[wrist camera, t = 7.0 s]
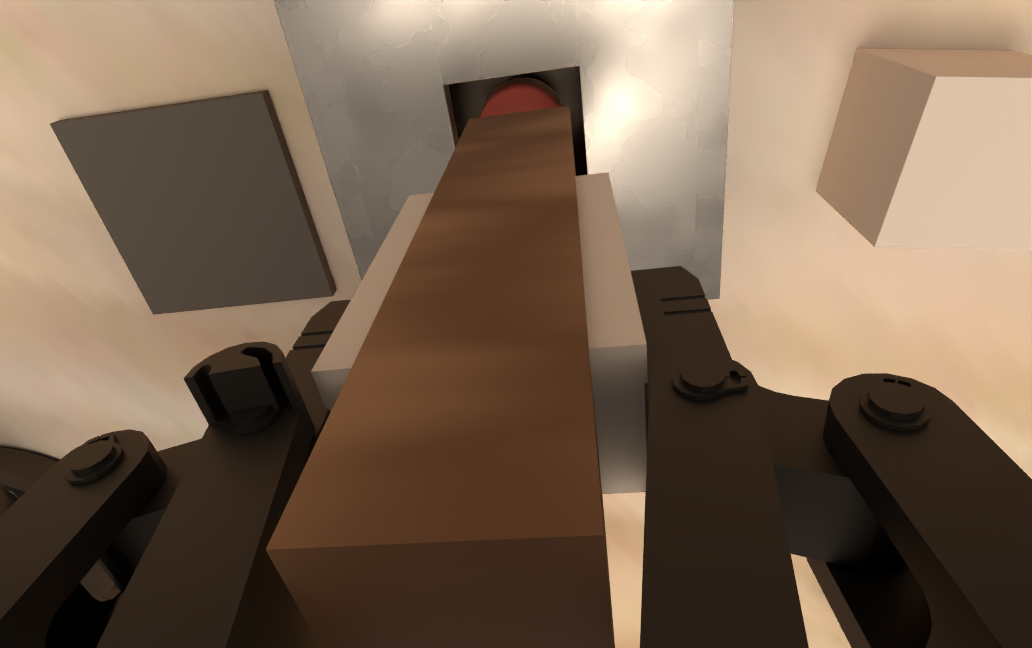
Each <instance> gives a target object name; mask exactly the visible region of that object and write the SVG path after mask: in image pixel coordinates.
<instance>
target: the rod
mask: <svg viewBox="0 0 1032 648" xmlns="http://www.w3.org/2000/svg"><path fill="white" fill-rule="evenodd" d="M575 176H576V172H575V161H574V150H573V139H572V127H571V116H570V106H562V107H555V108H547V109H540V110H532V111H524V112H517V113H509V114H501V115H494V116H486V117H479V118H471V119H469V120H468V122H467V124H466V127H465V129H464V131H463V133H462V135H461V137H460V139H459V141H458V143H457V146H456V148H455V150H454V152H453V154H452V156H451V158H450V160H449V163H448V165H447V167H446V169H445V171H444V173H443V175H442V177H441V179H440V182H439V184H438V186H437V188H436V190H435V192H434V194H433V196H432V198H431V201H430V203H429V205H428V207H427V209H426V211H425V213H424V215H423V218H422V220H421V222H420V224H419V226H418V228H417V230H416V232H415V234H414V237H413V239H412V241H411V243H410V245H409V247H408V249H407V251H406V254H405V256H404V258H403V260H402V262H401V264H400V266H399V268H398V270H397V273H396V275H395V277H394V279H393V281H392V283H391V285H390V287H389V290H388V292H387V294H386V296H385V298H384V300H383V302H382V304H381V306H380V309H379V311H378V313H377V315H376V317H375V319H374V321H373V323H372V325H371V328H370V330H369V332H368V334H367V336H366V338H365V340H364V342H363V345H362V347H361V349H360V351H359V353H358V355H357V357H356V359H355V361H354V364H353V366H352V368H351V370H350V372H349V374H348V376H347V378H346V381H345V383H344V385H343V387H342V389H341V391H340V393H339V395H338V397H337V400H336V402H335V404H334V406H333V408H332V410H331V412H330V414H329V416H328V419H327V421H326V423H325V425H324V427H323V429H322V431H321V433H320V436H319V438H318V440H317V442H316V444H315V446H314V448H313V450H312V452H311V455H310V457H309V459H308V461H307V463H306V465H305V467H304V469H303V472H302V474H301V476H300V478H299V480H298V482H297V484H296V486H295V488H294V491H293V493H292V495H291V497H290V499H289V501H288V503H287V505H286V507H285V510H284V512H283V514H282V516H281V518H280V520H279V522H278V524H277V527H276V529H275V531H274V533H273V535H272V537H271V539H270V541H269V543H268V546H267V548H266V551H267V553H268V555H269V557H270V558H271V560H272V562H273V564H274V565H275V567H276V569H277V571H278V572H279V574H280V576H281V578H282V579H283V581H284V583H285V585H286V586H287V588H288V590H289V592H290V594H291V595H292V597H293V599H294V601H295V602H296V604H297V606H298V608H299V609H300V611H301V613H302V615H303V616H304V618H305V620H306V622H307V623H308V625H309V627H310V629H311V630H312V632H313V634H314V636H315V637H316V639H317V641H318V643H319V644H320V646H321V648H615V642H614V630H613V618H612V606H611V594H610V582H609V570H608V558H607V545H606V533H605V521H604V509H603V497H602V486H601V475H600V464H599V453H598V442H597V432H596V421H595V410H594V399H593V388H592V377H591V366H590V355H589V343H588V331H587V318H586V306H585V293H584V280H583V268H582V255H581V243H580V230H579V217H578V205H577V192H576V180H575Z"/></svg>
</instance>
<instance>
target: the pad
mask: <svg viewBox="0 0 1032 648" xmlns="http://www.w3.org/2000/svg"><path fill="white" fill-rule="evenodd" d="M50 125H51V127H52V129H53V131H54V133H55V134H56V136H57V138H58V140H59V142H60V144H61V146H62V147H63V149H64V151H65V153H66V155H67V157H68V158H69V160H70V162H71V164H72V166H73V168H74V169H75V171H76V173H77V175H78V177H79V179H80V180H81V182H82V184H83V186H84V188H85V190H86V191H87V193H88V195H89V197H90V199H91V201H92V202H93V204H94V206H95V208H96V210H97V212H98V214H99V215H100V217H101V219H102V221H103V223H104V225H105V226H106V228H107V230H108V232H109V234H110V236H111V237H112V239H113V241H114V243H115V245H116V247H117V248H118V250H119V252H120V254H121V256H122V258H123V259H124V261H125V263H126V265H127V267H128V269H129V271H130V272H131V274H132V276H133V278H134V280H135V282H136V283H137V285H138V287H139V289H140V291H141V293H142V294H143V296H144V298H145V300H146V302H147V304H148V305H149V307H150V309H151V311H152V313H153V314H163V313H173V312H182V311H192V310H202V309H212V308H221V307H231V306H241V305H251V304H261V303H270V302H280V301H290V300H300V299H310V298H319V297H329V296H333V295H334V293H335V292H336V288H335V285H334V282H333V279H332V276H331V273H330V270H329V267H328V265H327V262H326V259H325V256H324V253H323V250H322V247H321V244H320V241H319V238H318V235H317V233H316V230H315V227H314V224H313V221H312V218H311V215H310V212H309V209H308V206H307V203H306V201H305V198H304V195H303V192H302V189H301V186H300V183H299V180H298V177H297V174H296V171H295V169H294V166H293V163H292V160H291V157H290V154H289V151H288V148H287V145H286V142H285V139H284V137H283V134H282V131H281V128H280V125H279V122H278V119H277V116H276V113H275V110H274V107H273V105H272V102H271V99H270V96H269V93H268V90H266V91H260V92H253V93H246V94H239V95H232V96H225V97H218V98H211V99H204V100H197V101H190V102H184V103H177V104H170V105H163V106H156V107H149V108H142V109H135V110H128V111H121V112H114V113H108V114H101V115H94V116H87V117H80V118H73V119H66V120H59V121H56V122H54V123H51V124H50Z"/></svg>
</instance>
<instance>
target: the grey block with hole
mask: <svg viewBox="0 0 1032 648" xmlns="http://www.w3.org/2000/svg"><path fill="white" fill-rule="evenodd" d="M274 3H275V6H276V9H277V12H278V15H279V19H280V22H281V25H282V28H283V31H284V35H285V38H286V41H287V44H288V47H289V50H290V54H291V57H292V60H293V63H294V66H295V70H296V73H297V76H298V79H299V82H300V85H301V89H302V92H303V95H304V98H305V101H306V104H307V108H308V111H309V114H310V117H311V120H312V124H313V127H314V130H315V133H316V136H317V139H318V143H319V146H320V149H321V152H322V155H323V159H324V162H325V165H326V168H327V171H328V174H329V178H330V181H331V184H332V187H333V190H334V194H335V197H336V200H337V203H338V206H339V209H340V213H341V216H342V219H343V222H344V225H345V228H346V232H347V235H348V238H349V241H350V244H351V248H352V251H353V254H354V257H355V260H356V263H357V267H358V270H359V273H360V276H361V279H363V278H364V276H365V274H366V272H367V270H368V269H369V267H370V265H371V263H372V261H373V260H374V258H375V256H376V254H377V252H378V251H379V249H380V247H381V245H382V244H383V242H384V240H385V238H386V236H387V235H388V233H389V231H390V229H391V227H392V226H393V224H394V222H395V220H396V218H397V217H398V215H399V213H400V211H401V210H402V208H403V206H404V204H405V202H406V201H407V199H408V197H409V196H410V195H418V194H427V193H434V192H435V190H436V188H437V186H438V184H439V182H440V179H441V177H442V175H443V173H444V171H445V169H446V167H447V165H448V163H449V160H450V158H451V156H452V154H453V152H454V150H455V148H456V146H457V143H458V141H459V138H458V133H457V127H456V122H455V117H454V111H453V106H452V101H451V96H450V90H449V85H448V84H454V83H461V82H469V81H476V80H483V79H490V78H497V77H504V76H511V75H518V74H525V73H532V72H540V71H547V70H554V69H561V68H568V67H575V66H579V77H580V89H581V102H582V115H583V128H584V140H585V153H586V166H587V175H589V174H598V173H606V172H609V177H610V181H611V186H612V190H613V195H614V199H615V204H616V208H617V213H618V217H619V222H620V226H621V231H622V235H623V240H624V244H625V249H626V253H627V258H628V262H629V267H630V271H632V270H643V269H653V268H663V267H674V266H682V267H683V268H684V269H686V270H687V271H689V272H690V273H691V274H693V275H694V276H696V277H697V278H698V279H699V281H700V284H701V286H702V288H703V291H704V293H705V298H707V300H709V299H719V298H720V277H721V256H722V235H723V214H724V193H725V172H726V151H727V131H728V110H729V89H730V68H731V47H732V26H733V5H734V0H274Z"/></svg>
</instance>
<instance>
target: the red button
mask: <svg viewBox="0 0 1032 648" xmlns="http://www.w3.org/2000/svg"><path fill="white" fill-rule="evenodd" d="M555 107H562V104H561V102H560V100H559V98H558V96H557V95H556V93H555V92H554V91H553V90H552V89H551V88H550V87H549V86H548V85H546V84H545V83H543V82H541V81H539V80H537V79H534V78H529V77H517V78H512V79H510V80H507V81H505V82H503V83H501V84H500V85H499V86H497V87H496V88H495V89H494V90H493V91H492V92H491V94H490V95H489V97H488V98H487V100H486V103H485V105H484V108H483V110H482V113H481V115H480V117H486V116H494V115H501V114H509V113H517V112H524V111H532V110H540V109H547V108H555Z"/></svg>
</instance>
